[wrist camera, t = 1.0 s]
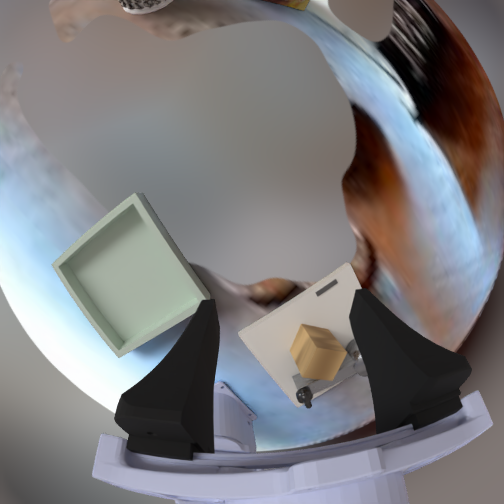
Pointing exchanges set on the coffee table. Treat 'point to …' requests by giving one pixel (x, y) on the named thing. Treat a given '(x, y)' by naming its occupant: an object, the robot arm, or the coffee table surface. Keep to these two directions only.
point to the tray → (130, 277)
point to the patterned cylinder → (143, 5)
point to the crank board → (302, 312)
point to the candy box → (292, 3)
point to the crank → (347, 369)
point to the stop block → (317, 353)
